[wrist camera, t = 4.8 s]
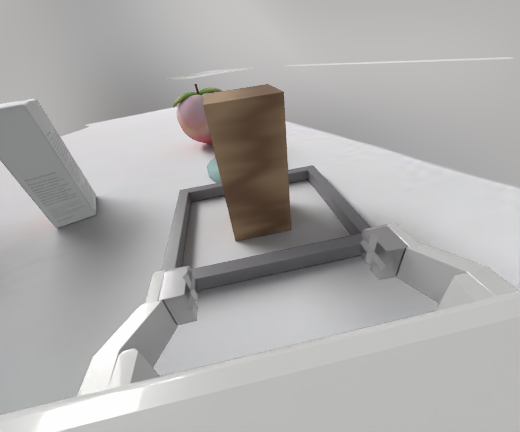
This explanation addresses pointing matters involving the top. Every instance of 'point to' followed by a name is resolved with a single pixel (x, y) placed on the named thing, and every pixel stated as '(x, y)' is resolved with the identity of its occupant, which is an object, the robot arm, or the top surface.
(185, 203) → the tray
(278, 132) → the walnut block
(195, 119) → the decorative fruit
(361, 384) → the robot arm
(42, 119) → the skincare box
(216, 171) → the teal round disc
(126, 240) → the top surface
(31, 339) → the top surface
